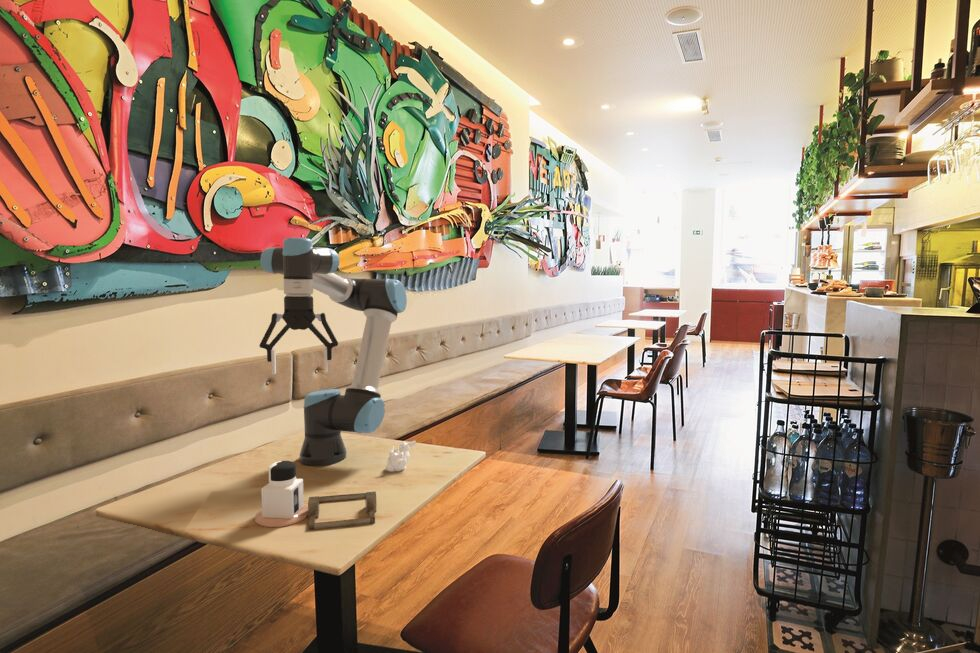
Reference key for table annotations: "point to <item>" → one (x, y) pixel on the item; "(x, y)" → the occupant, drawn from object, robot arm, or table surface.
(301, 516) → the pink flat disc
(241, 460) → the table surface
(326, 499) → the collar
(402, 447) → the rabbit figurine
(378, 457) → the table surface
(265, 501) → the container
